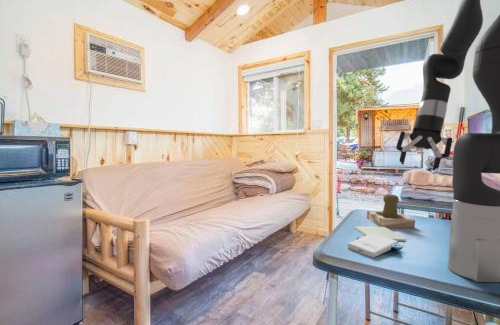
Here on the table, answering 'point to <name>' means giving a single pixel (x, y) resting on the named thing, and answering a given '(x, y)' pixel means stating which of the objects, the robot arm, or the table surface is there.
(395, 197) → the cork
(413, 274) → the table surface
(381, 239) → the external hard drive
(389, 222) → the holder
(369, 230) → the mat
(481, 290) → the table surface
